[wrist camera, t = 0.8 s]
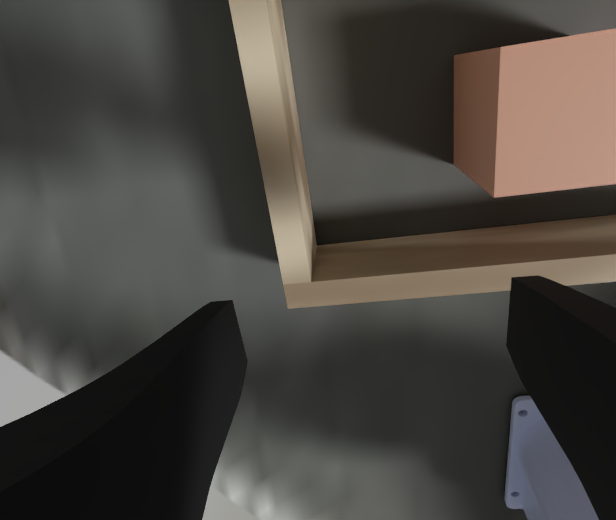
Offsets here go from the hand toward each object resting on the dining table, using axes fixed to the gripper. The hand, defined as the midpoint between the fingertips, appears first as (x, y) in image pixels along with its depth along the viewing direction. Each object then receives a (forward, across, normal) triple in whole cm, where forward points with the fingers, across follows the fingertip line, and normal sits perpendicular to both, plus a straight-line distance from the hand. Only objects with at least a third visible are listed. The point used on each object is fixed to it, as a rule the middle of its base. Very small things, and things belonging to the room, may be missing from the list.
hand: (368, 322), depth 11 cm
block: (+10, -7, -4) cm, 13 cm away
